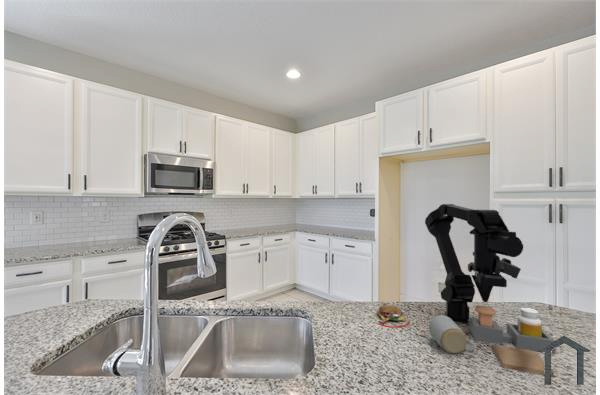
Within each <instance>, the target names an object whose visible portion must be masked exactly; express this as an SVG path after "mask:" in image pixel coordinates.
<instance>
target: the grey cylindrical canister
mask: <svg viewBox="0 0 600 395" xmlns="http://www.w3.org/2000/svg"><path fill="white" fill-rule="evenodd" d="M428 331H429V334H430V336H431V337H432V338H433V339H434V340H435V342H436V343H437V344H438V345H439V346H440V348H442V350H444V351H445V352H447V353H449V354H454V355H455V354H459V353H461V352H463V351H464V350H466V351H469V352H473V351H474V349H475V347H476V346H475V345H474V343H472V342H471V341H470V340H469V339H468V338H467V337H466V334H465V333H464V331H463V330H462V329H461V328H460V327H459V326H458V325H457V323H456V322H455V321H453V320H452V319H451V318H449V317H447V316H446V315H443V314H441V315H436V316H433V318H432V319H431V320H430V322H429V324H428Z"/></svg>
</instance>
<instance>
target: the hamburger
mask: <svg viewBox="0 0 600 395" xmlns="http://www.w3.org/2000/svg"><path fill="white" fill-rule="evenodd" d="M376 314H378V316H380V318H381V320H382V322H381V321H378V323H377V322H375V324H376V325H378V326H381V327H385V328H391V329H394V328H396V329H399V328H406V327H408V326H409V325H411V322H410V321H407V323H405V324H403V325H396V326H394V325H393V326H391V325H386V324H388V322H387V321H395V322H396V321H404V322H405V316H404V312H403V311H402V310H401V308H399V307H398V306H395V305H389V304H383V305H380V306H379V308H378V309H377V312H376Z"/></svg>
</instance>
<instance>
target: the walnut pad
mask: <svg viewBox="0 0 600 395" xmlns="http://www.w3.org/2000/svg"><path fill="white" fill-rule="evenodd" d="M491 349H492V351H493V352H494V354H495V356H496V357H497V360H498V361H499V363H500V365H501V367H502V368H505V369H509V370H516V371H520V372H526V373H531V374H537V375H541V374H542V376H545V375H544V362H545V361H544V359H543V358H542V357H541V356H540V355H539V354H538V351H533V350H527V349H521V348H517V347H510V346H504V345H500V344H498V345H497V344H494V343H492V344H491ZM550 377H552V378H554V377H555V372H554V371H553V370H552V369H551V376H550Z"/></svg>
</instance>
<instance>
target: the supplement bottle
mask: <svg viewBox="0 0 600 395" xmlns="http://www.w3.org/2000/svg"><path fill="white" fill-rule="evenodd" d="M517 325H518V333H519V334H520V335H527V336H534V337H540V338H542V329H543V327H542V321H541V319H540V318H539V311H538V310H536V309H533V308H528V307H521V308H520V314H519V315H518V317H517Z"/></svg>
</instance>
